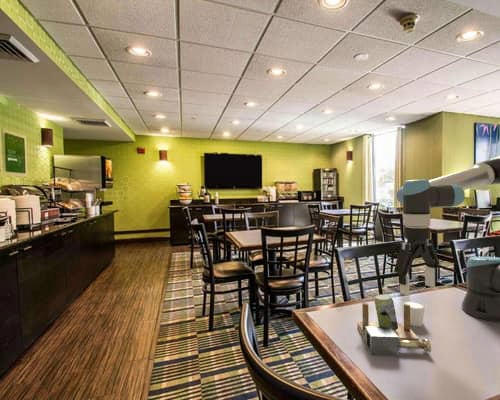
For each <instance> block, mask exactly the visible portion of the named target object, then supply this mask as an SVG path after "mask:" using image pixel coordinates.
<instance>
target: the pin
mask: <svg viewBox="0 0 500 400" xmlns="http://www.w3.org/2000/svg"><path fill="white" fill-rule="evenodd" d="M398 348H399V349H412V350H415V349H416V350H423V351H424V352H426V353H430V352H432V347H431V342H430V341H429V339H428V338H421V340H419V341H405V340H398Z"/></svg>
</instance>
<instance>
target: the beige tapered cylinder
mask: <svg viewBox="0 0 500 400" xmlns="http://www.w3.org/2000/svg"><path fill="white" fill-rule="evenodd" d="M404 304H409V305H410V326H414V327H422V326H423V325H424V316H425V305H424V304H423V303H420V302H417V301H412V300H411V301H409V300H407V301H404V302H403V305H404Z"/></svg>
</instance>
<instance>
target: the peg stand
mask: <svg viewBox="0 0 500 400" xmlns="http://www.w3.org/2000/svg"><path fill="white" fill-rule="evenodd" d="M361 305H362V317H361V318H362V321H357V325H356V326H357V329H358V331H359V332H360V335H361V336H362V338H363V340H364V341H365V342H366V339H365V326H372V327H379V322H378V321H377V322H375V321H369V316H370V315H369V303H367V302H362V303H361ZM397 324H398V329H397V330H395V331H394V332H395V333H396V335H397V336H398V340H405V341H420V337H418V336H417V335H416V333H414V331H413V330H412V329H411V325H410V305H409V304H404V303H403V322H397Z"/></svg>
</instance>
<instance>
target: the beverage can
mask: <svg viewBox="0 0 500 400" xmlns="http://www.w3.org/2000/svg"><path fill="white" fill-rule="evenodd" d="M374 305H375V310H376V317H377V322H379V327H391V328H392V330H393V331H395V330H397V329H398V324H397V323H398V320H397V315H396V309H395V304H394V300H393V298H392V297H391V296H390V294H377V295H376V296H375V298H374Z"/></svg>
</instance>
